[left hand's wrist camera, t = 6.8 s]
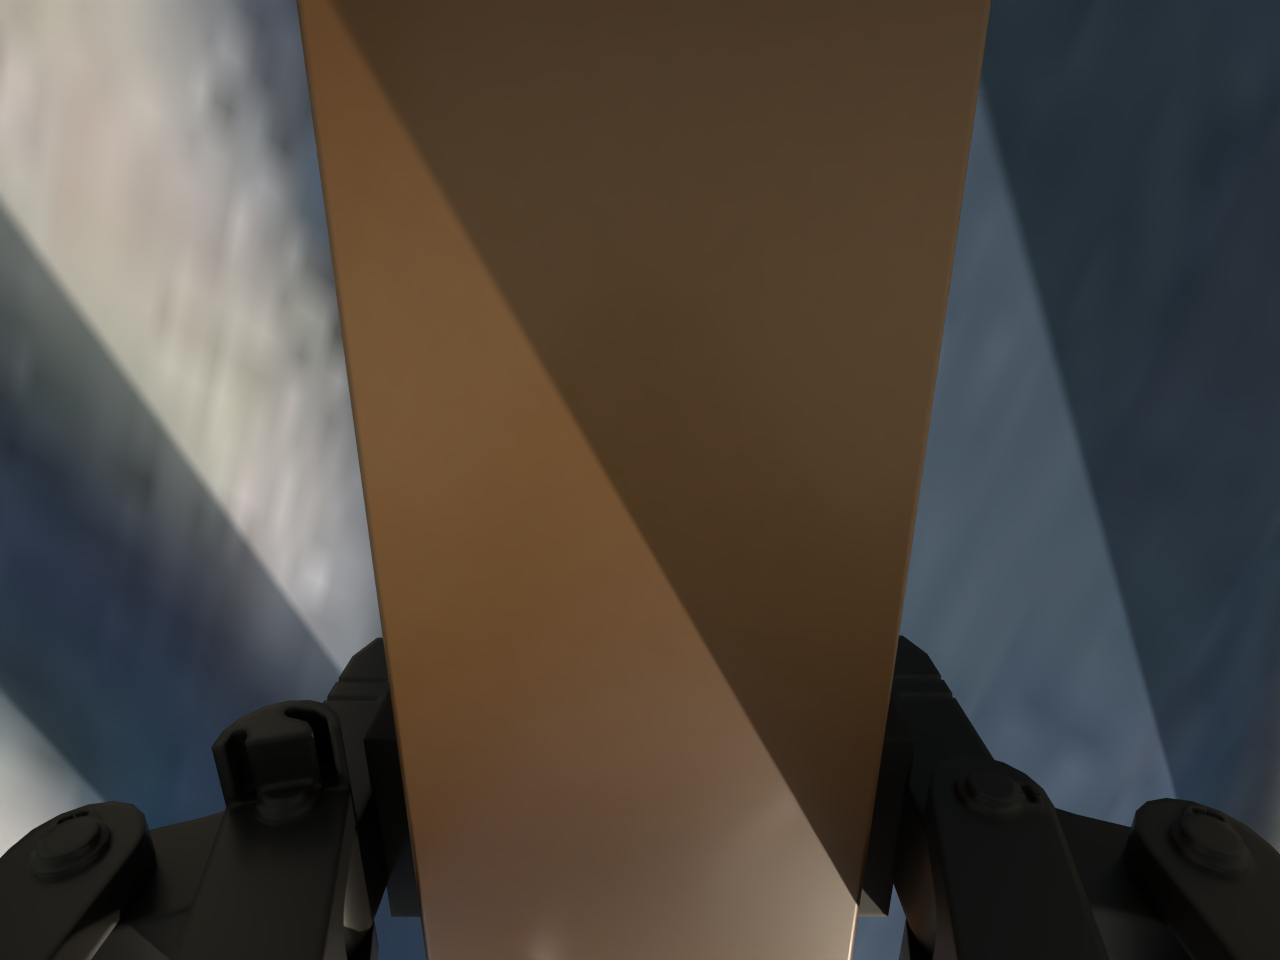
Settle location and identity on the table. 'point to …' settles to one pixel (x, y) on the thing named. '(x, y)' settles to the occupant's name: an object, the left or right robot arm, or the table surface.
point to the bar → (641, 441)
